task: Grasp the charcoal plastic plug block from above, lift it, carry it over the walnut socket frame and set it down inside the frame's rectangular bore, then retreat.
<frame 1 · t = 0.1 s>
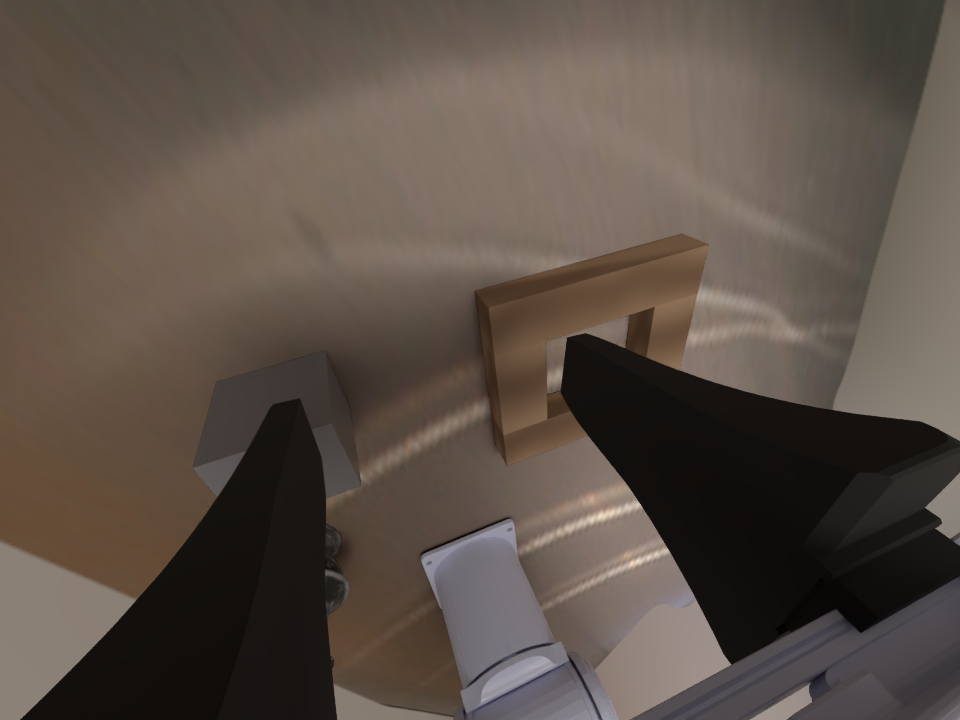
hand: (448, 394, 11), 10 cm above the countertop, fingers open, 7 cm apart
plug: (289, 395, 21), on the countertop
weathered stone finial: (298, 545, 27), on the countertop
socket frame: (581, 348, 26), on the countertop
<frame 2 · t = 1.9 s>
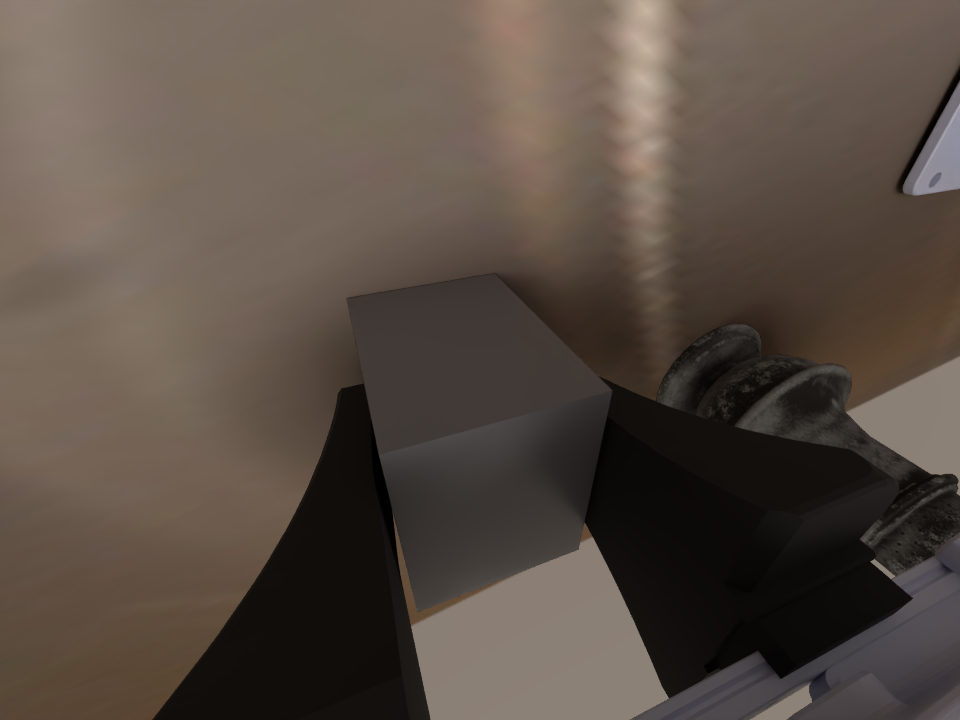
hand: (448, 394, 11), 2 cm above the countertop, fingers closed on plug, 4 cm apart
plug: (432, 362, 12), on the countertop, touching gripper
weathered stone finial: (704, 374, 18), on the countertop
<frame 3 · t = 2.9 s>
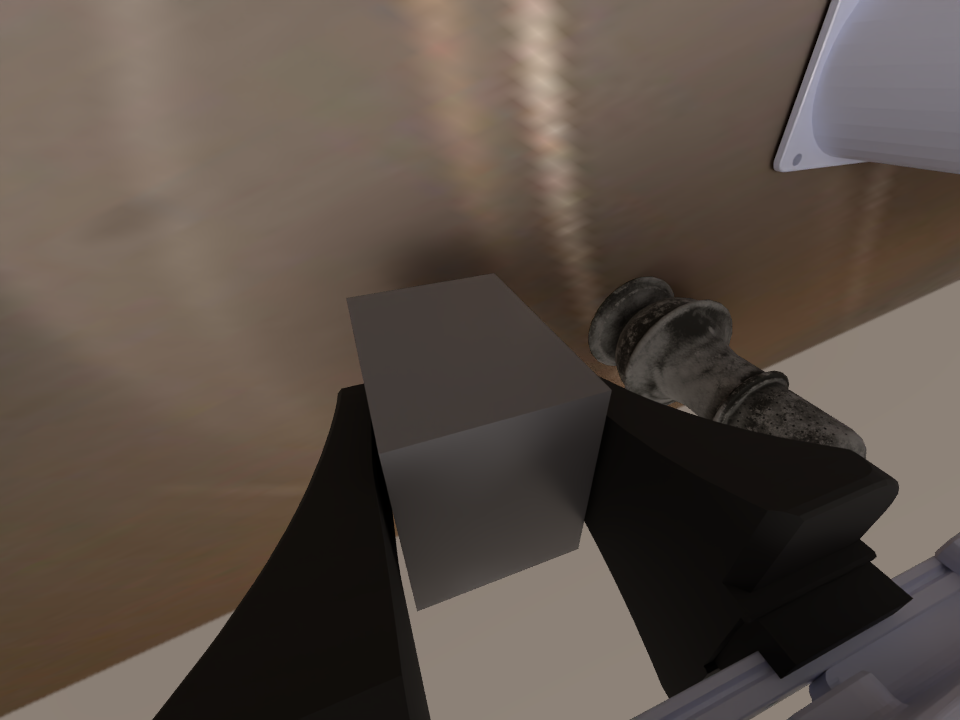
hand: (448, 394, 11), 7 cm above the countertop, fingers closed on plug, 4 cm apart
plug: (432, 361, 12), point 5 cm above the countertop, touching gripper
weathered stone finial: (629, 321, 22), on the countertop
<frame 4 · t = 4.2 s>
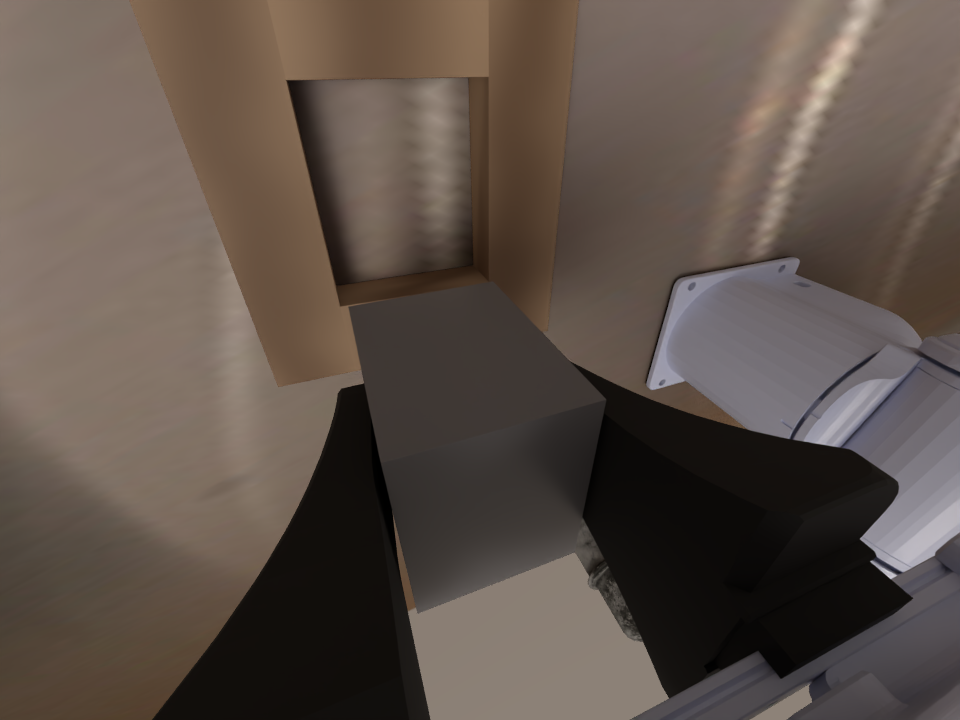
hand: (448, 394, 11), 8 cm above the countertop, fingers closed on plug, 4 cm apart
plug: (432, 367, 12), point 7 cm above the countertop, touching gripper
weathered stone finial: (553, 476, 30), on the countertop
socket frame: (397, 189, 16), on the countertop
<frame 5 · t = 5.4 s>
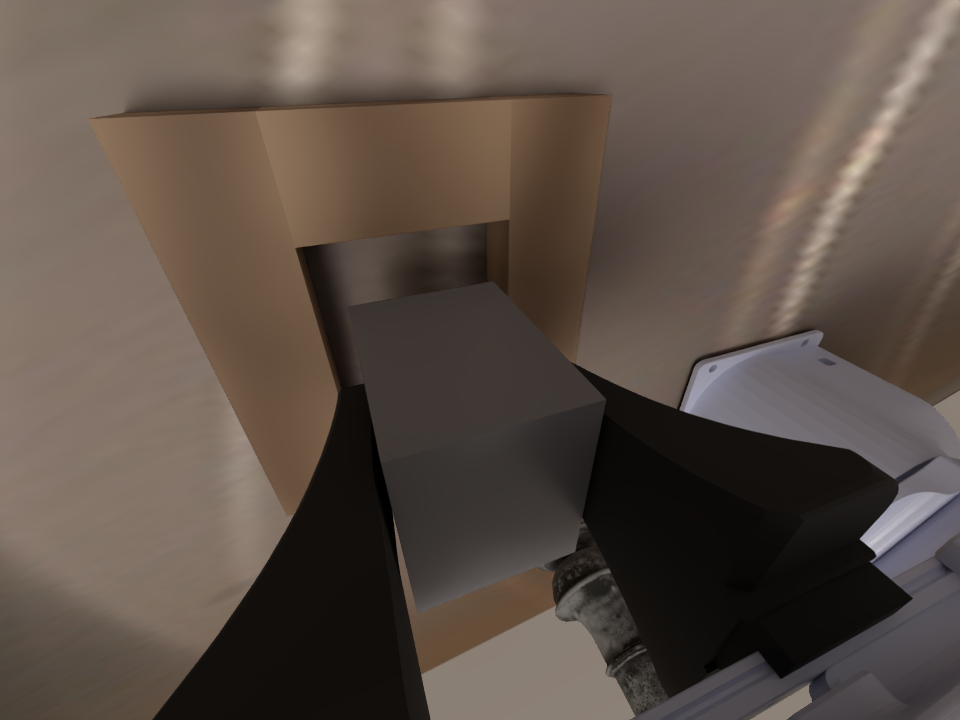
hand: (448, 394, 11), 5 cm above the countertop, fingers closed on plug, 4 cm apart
plug: (432, 367, 12), point 3 cm above the countertop, touching gripper
weathered stone finial: (567, 544, 29), on the countertop
socket frame: (410, 312, 15), on the countertop
when the fingers open (3 cm above the countertop, at t = 6.3 s): plug drops 1 cm, resting in socket frame.
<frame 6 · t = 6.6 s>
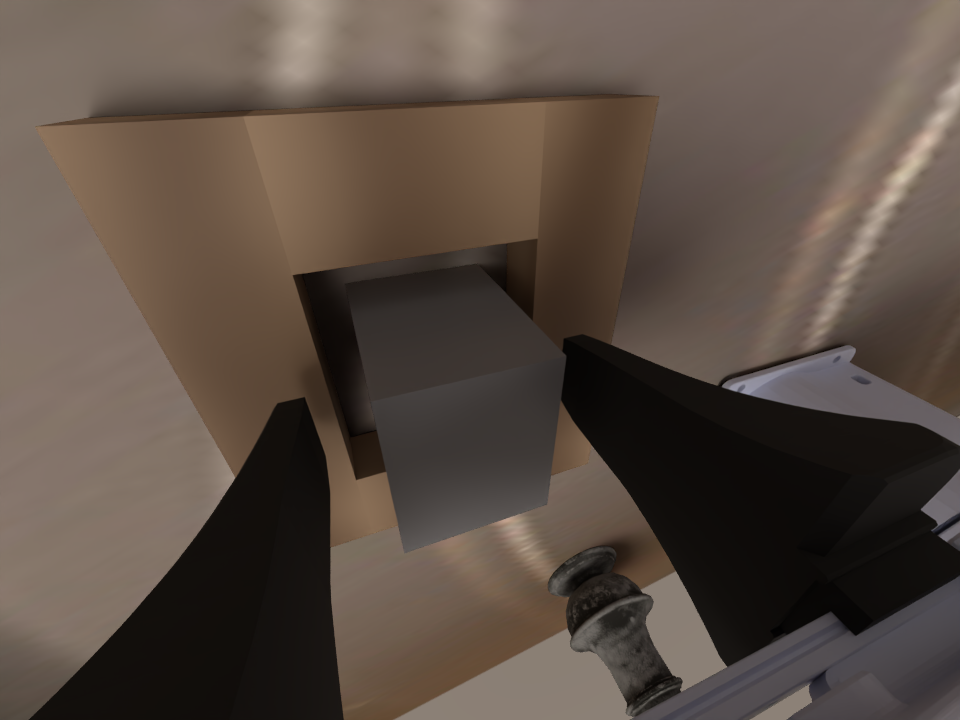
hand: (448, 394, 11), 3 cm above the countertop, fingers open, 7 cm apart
plug: (422, 343, 13), resting in socket frame
weathered stone finial: (580, 568, 28), on the countertop
socket frame: (421, 338, 13), on the countertop
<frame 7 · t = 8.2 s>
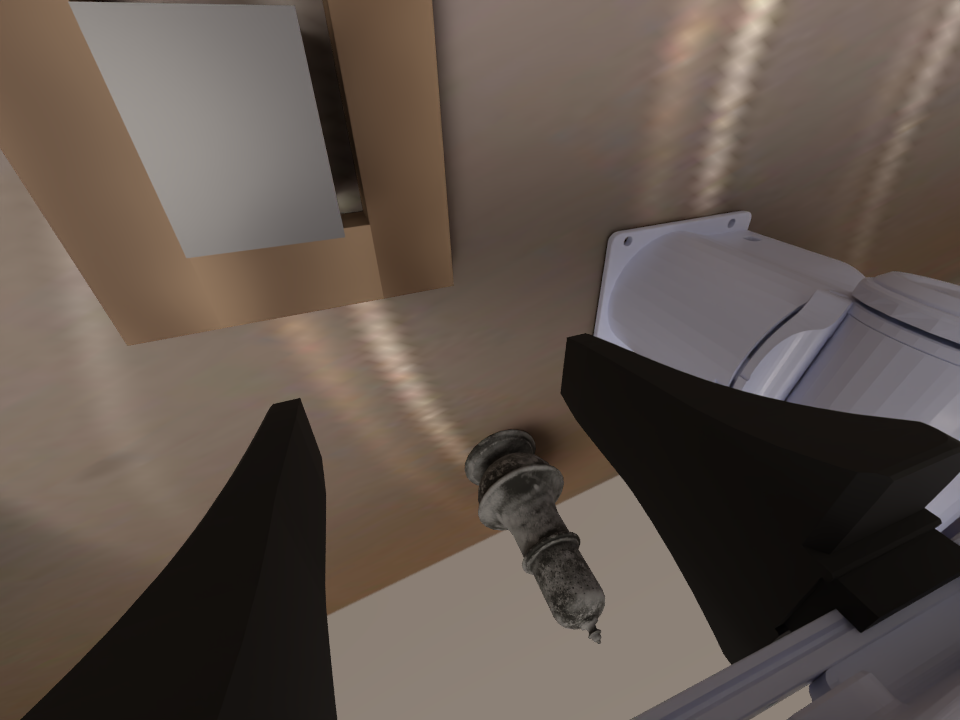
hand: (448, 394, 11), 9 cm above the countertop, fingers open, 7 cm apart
plug: (255, 124, 14), resting in socket frame
weathered stone finial: (499, 456, 28), on the countertop
socket frame: (251, 115, 14), on the countertop
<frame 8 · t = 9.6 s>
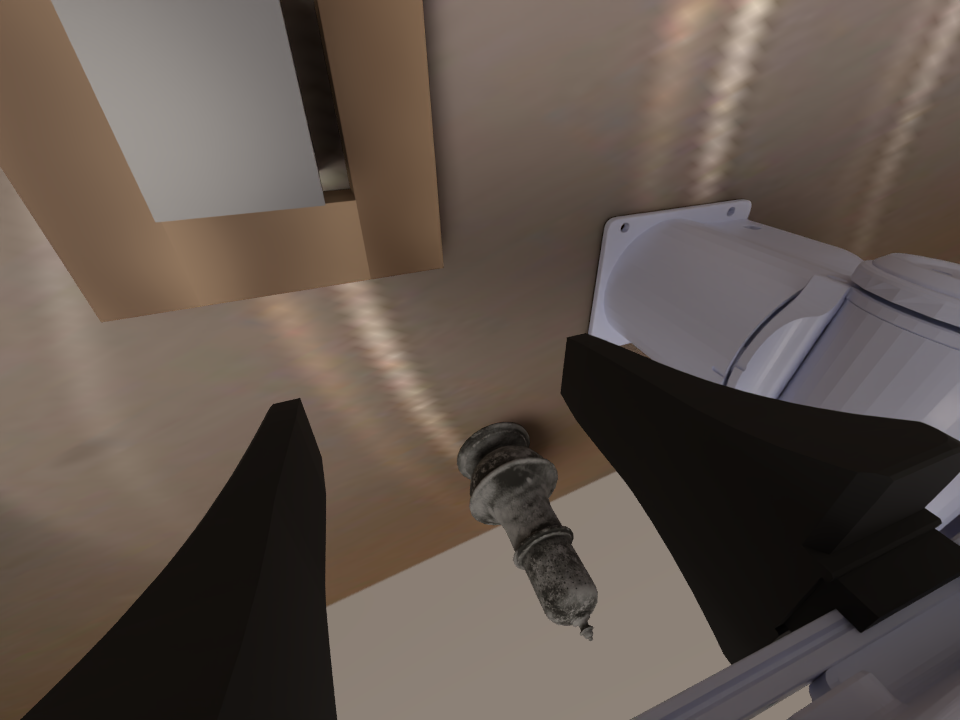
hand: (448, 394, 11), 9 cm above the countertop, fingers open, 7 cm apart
plug: (236, 92, 13), resting in socket frame
weathered stone finial: (492, 449, 28), on the countertop
socket frame: (232, 83, 13), on the countertop
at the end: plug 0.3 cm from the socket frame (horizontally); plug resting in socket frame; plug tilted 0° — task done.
